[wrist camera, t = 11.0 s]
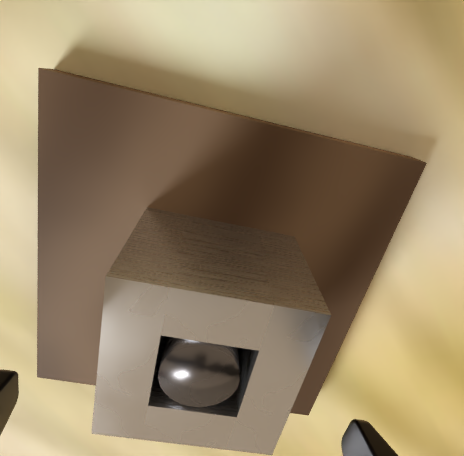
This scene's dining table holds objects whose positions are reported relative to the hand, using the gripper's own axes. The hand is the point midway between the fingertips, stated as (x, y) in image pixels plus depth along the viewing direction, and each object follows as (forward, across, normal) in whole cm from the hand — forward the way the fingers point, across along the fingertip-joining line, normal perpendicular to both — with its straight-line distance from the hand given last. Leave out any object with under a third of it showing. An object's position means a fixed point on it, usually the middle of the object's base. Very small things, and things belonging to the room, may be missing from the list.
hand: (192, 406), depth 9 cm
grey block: (+6, 0, 0) cm, 6 cm away
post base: (+7, 0, 0) cm, 7 cm away
